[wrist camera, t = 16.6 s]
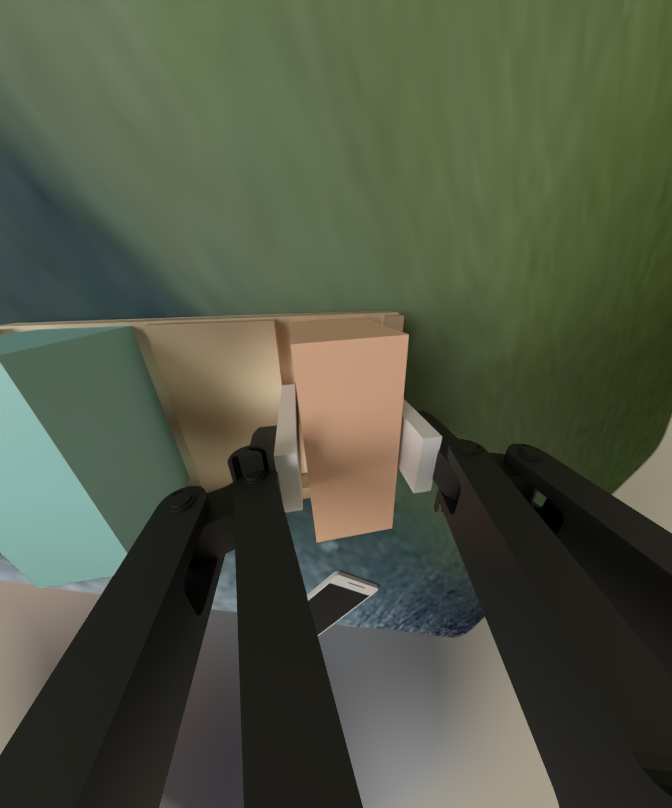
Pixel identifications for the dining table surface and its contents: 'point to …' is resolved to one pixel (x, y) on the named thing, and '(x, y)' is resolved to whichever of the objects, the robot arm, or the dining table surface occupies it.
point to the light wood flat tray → (218, 379)
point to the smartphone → (337, 598)
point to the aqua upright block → (79, 451)
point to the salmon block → (350, 420)
